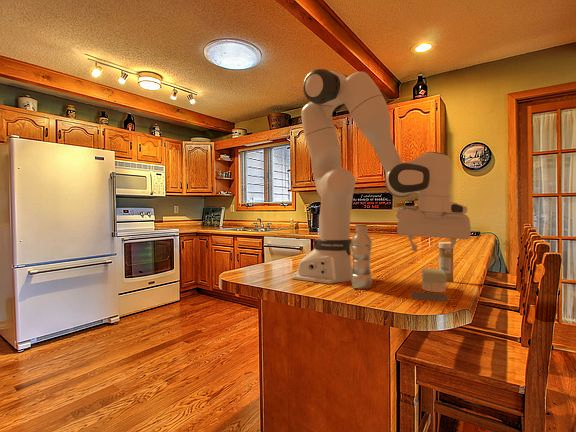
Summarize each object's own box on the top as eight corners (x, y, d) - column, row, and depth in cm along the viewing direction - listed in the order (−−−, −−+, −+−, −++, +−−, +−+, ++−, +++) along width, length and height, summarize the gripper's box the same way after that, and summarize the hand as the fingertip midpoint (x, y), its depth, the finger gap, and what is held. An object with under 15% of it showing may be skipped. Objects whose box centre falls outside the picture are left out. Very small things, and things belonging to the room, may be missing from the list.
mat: (412, 300, 85) (412, 298, 85) (411, 293, 92) (411, 291, 92) (449, 304, 82) (449, 301, 82) (445, 296, 89) (445, 294, 89)
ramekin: (422, 292, 93) (422, 281, 93) (421, 287, 99) (421, 276, 99) (447, 294, 90) (447, 282, 90) (444, 289, 97) (444, 277, 96)
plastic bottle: (351, 291, 95) (351, 225, 95) (350, 285, 102) (350, 224, 101) (373, 291, 94) (373, 225, 94) (370, 286, 101) (370, 224, 100)
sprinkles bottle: (456, 282, 105) (456, 242, 105) (448, 284, 103) (449, 243, 102) (443, 279, 109) (443, 241, 109) (435, 281, 107) (435, 242, 106)
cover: (423, 281, 92) (423, 273, 92) (421, 276, 99) (422, 268, 99) (446, 282, 90) (446, 274, 90) (442, 277, 97) (442, 269, 97)
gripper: (397, 204, 95) (394, 250, 95) (473, 207, 88) (470, 256, 89) (397, 205, 101) (394, 247, 101) (468, 208, 94) (465, 253, 95)
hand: (430, 251), depth 95 cm, fingers open, 8 cm apart
